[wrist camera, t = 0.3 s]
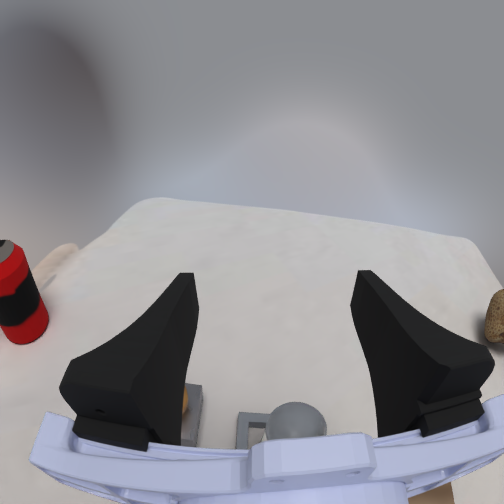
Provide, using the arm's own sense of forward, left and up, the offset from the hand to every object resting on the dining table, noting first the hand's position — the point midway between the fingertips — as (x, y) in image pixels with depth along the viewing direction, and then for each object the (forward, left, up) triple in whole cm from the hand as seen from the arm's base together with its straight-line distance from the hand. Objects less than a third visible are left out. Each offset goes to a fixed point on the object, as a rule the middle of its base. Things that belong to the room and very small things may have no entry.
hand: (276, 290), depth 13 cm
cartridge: (-1, -4, -21) cm, 21 cm away
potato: (+14, -41, -21) cm, 48 cm away
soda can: (+10, +30, -21) cm, 38 cm away
